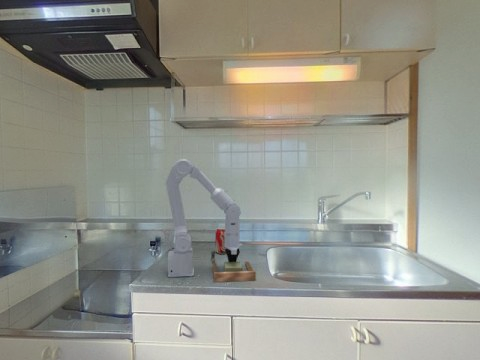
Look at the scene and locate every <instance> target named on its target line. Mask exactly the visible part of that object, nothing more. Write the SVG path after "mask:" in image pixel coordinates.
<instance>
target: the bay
mask: <svg viewBox="0 0 480 360" xmlns="http://www.w3.org/2000/svg"><path fill="white" fill-rule="evenodd" d="M244 266H245V268H246V270H242V271H236V272H224V271H218V265H217V262H215V263H212V273H213V282H214V283H221V282H222V283H224V282H246V281H247V282H249V281H256V277H257V276H256V275H257V272H256V270H254V269H253V268H252V266H251V264H250V262H249V261H245V262H244Z"/></svg>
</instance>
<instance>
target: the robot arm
mask: <svg viewBox="0 0 480 360" xmlns="http://www.w3.org/2000/svg"><path fill="white" fill-rule="evenodd" d="M188 175H189V178H193V179H195V180H197V181H198V182H199V183H200V184H201V185H202V186H203V187H204V188H205V190H207V191H208V192H209V193H210V199H211V200H212V202H214V204H215V205H216V206H217V207H218V208H219V209H220V210H221V211H223V212H224V214H225V221H224V227H225V247H226V248H227V249H225V252H226V254H225V255H226V257H227V262H238V261H237V260H238V256H239V255H240V253H241V251H240V248H241V247H243V243H240V216H241V213H242V211H241V208H240V206H239V205H238V204H237V203H236V202H235V200H234V199H233V198H232V197H230V196H229V195H228V194H227V191H226V189H223V188H221V187H216V186H215V184H213V182H212V181H211V180H210V179H209V178H208V177H207V176H206V175H205V174H204V172H203V171H202V170H201V169H199V167H197V166H196V165H194V164H192V162H191V161H190V160H188V159H186V158H180V159H179V160H177V161H176V162H175V163H174V164H173V165H172V166H171V169H170V171H169V173H168V176H167V178H166V180H165V185H166V190H167V195H168V201H169V205H170V211H171V217H172V221H173V228H174V236H175V239H174V242H173V247H174V249H173V250H169V251H168V254H167V255H168V257H167V277H168V278H176V277H178V278H179V277H193V276H194V274H195V268H194V259H193V258H194V252H193V251H194V250H193V247H192V239H193V238H192V234H191V233H190V232H189V230H188V226H187V222H186V220H187V219H186V216H185V211H184V210H185V209H184V206H183V199H182V195H181V190H180V183H182V181H183V180H184V178H186V177H188Z"/></svg>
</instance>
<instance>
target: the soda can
mask: <svg viewBox="0 0 480 360" xmlns="http://www.w3.org/2000/svg"><path fill="white" fill-rule="evenodd" d="M214 234H215V236H214V237H215V241H214V242H215V245H214V247H215V253H218V254H220V255H227V254H226V252H225V249H227V248H226V247H225V226H217V227H216V230H215V233H214Z"/></svg>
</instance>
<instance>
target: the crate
mask: <svg viewBox="0 0 480 360" xmlns="http://www.w3.org/2000/svg"><path fill="white" fill-rule="evenodd" d="M223 264H224V267H223V269H224V271H223V272H236V271H243V266H242V265H241V261H236V262H228V261H224V262H223Z"/></svg>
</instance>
